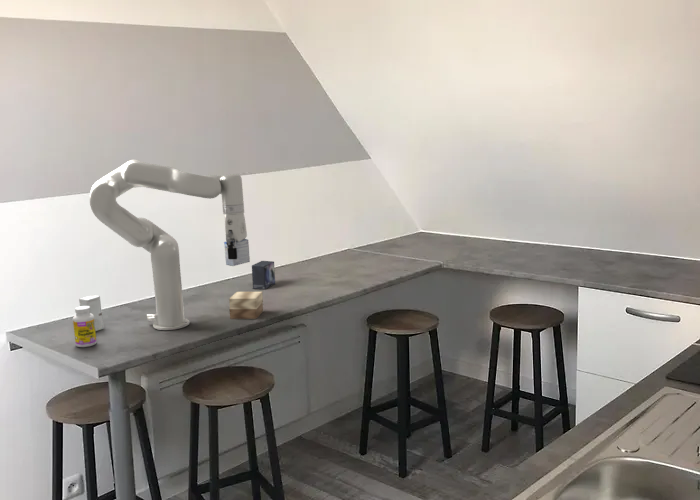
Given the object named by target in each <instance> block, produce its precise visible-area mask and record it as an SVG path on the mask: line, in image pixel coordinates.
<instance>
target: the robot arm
mask: <svg viewBox="0 0 700 500" xmlns="http://www.w3.org/2000/svg"><path fill="white" fill-rule="evenodd" d="M134 187H140V188H146V189H152V190H157V191H158V190H159V191H162V192H163V191H165V192H169V193H173V194H174V193H175V194H179V195H180V194H181V195H186V196H191V197H198V198H203V199H211V200H212V199H215V198H217V197H219V195H221V202H222V203H221V204H222V214H223V215H224V231H225V242H226V241H227V243H226V244H227V249H228V259H237V248H235V247H236V241H238V242H240V241H242V240H243V239H247V237H248V234H247V225H246V224H247V223H246V217H245V214H244V213H245V204H244V191H243V190H244V189H243V179H242V176H241V174H235V173H233V174H230V173H229V174H223V175H217V174H216V175H215V174H214V175H213V174H208V175H207V174H206V175H201V174H194V173H189V172H185V171H183V170H180V169H177V168H175V167H173V166H167V165H160V164H154V163H150V162H143V161H141V160H139V159H130V160H128V161H126V162H125V163H123V164H122V165H121V166H119V167H117V168H116V169H114V170H112V171H111V172H109V173H108V174H106V175H104V176H102V177H101V178H100V179H98V180H97V181H95V182H94V184H92V187H91V189H90V193H89V205H90V209H91V212H92V213H93V215H94V216H95V217H96V218H97V220H98V221H100V222H101V223H102V224H104V226H106V227H107V228H109V229H110V230H111V231H112V232H114V233H115V234H117V235H118V236H119V237H121V238H123V240H125V241H127V242H128V244H130V245H131V246H134V247H136V248H142V249H143V250H145V251H147V252H149V254H150V263H151V269H152V278H153V286H154V287H153V289H154V298H155V299H154V300H155V311H156V313H155V314H154V313H148V314H146V319H147V321H148V322H149V321H150V322H151V321H152V322H153V324H152V327H153V328H154V329H155V330H158V331H172V330H173V331H174V330H178V329H183V328H185V327H187V326H188V325H190V320H189V319H188V318H185V309H184V297H183V288H182V287H183V286H182V285H183V283H182V276H181V275H182V274H181V264H180V261H181V260H180V246H179V243H178V241H177V240H176V239H175V238H174V237H173V236H171V235H170V234H168V232H166V231H165V230H164V229H162V228H161V227H159V226H158V225H156V224H155V223H154V222H152V221H151V220H149V219H147V218H144V217H137V216H136V215H134V214H133V213H132V212H130V211H129V210H127V209H126V208H125V207H123V206H122V205H120V204H119V203H118V201H117V198H119V197H120V196H122V195H123V194H125V193H126V192H128V191H130V190H131V189H133V188H134ZM232 242H234V243H232Z"/></svg>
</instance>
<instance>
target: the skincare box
mask: <svg viewBox="0 0 700 500" xmlns="http://www.w3.org/2000/svg"><path fill="white" fill-rule="evenodd" d="M78 301H79V307H80V306H89V307H90V313H91V314H93V315H94V321H95V331H96V332H98V331H100V330H103V329H104V322H103V321H104V320H103V314H102V313H103V312H102V305H101V296H100V295H88V296H84V297H81V298H79V299H78Z"/></svg>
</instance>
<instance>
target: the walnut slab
mask: <svg viewBox="0 0 700 500" xmlns="http://www.w3.org/2000/svg"><path fill="white" fill-rule="evenodd" d="M263 312H264V301H263V302H262V304H261V305H260V306H259V307H258V308H257V309H230V308H229V319H230V320H231V319H232V320H235V319H236V320H244V319H245V320H249V319H250V320H255V319H256V320H257V319H258V318H259V317H260V315H261V314H262V313H263Z"/></svg>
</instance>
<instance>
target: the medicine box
mask: <svg viewBox="0 0 700 500" xmlns="http://www.w3.org/2000/svg"><path fill="white" fill-rule="evenodd" d="M249 242H250V241H249V239H247V238H245V239H243V240H242V241H240V242H238V241H236V247H235V248H237V259H228V249H227V244H226V243H227V241H226V240H225V241H224V242H223V243H224V245H223V247H224V257H225V265H226V266H229V267H236V266H239V265H243V264H248V263H250V261H251V258H250V257H251V256H250V244H249ZM232 243H234V242H232Z"/></svg>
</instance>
